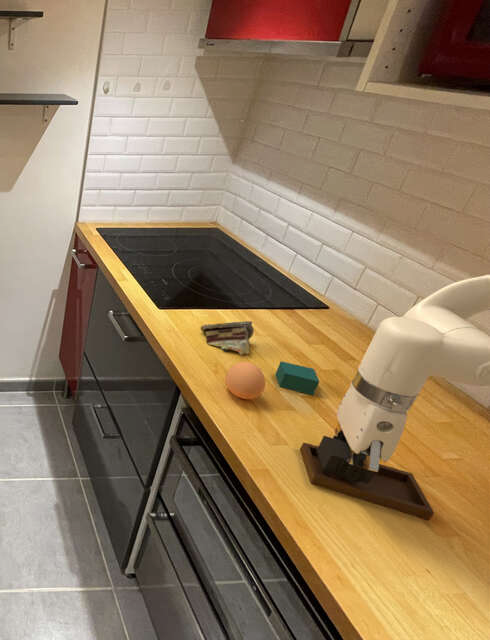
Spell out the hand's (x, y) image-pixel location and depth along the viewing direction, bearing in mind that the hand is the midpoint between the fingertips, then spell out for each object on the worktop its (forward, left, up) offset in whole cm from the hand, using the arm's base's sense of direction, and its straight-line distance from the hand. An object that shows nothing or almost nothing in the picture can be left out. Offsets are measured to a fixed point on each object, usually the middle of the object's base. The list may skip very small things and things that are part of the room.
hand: (342, 465), depth 80 cm
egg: (+14, -16, -3) cm, 21 cm away
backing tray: (-3, 0, -3) cm, 4 cm away
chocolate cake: (+15, -35, -3) cm, 38 cm away
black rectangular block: (0, 0, 0) cm, 0 cm away
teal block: (+2, -25, -3) cm, 25 cm away
